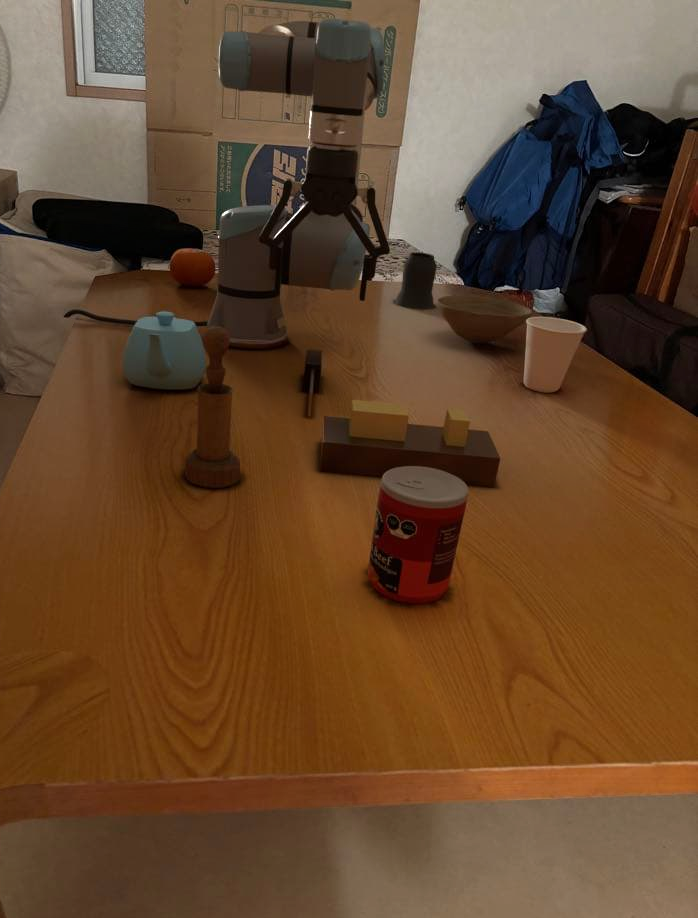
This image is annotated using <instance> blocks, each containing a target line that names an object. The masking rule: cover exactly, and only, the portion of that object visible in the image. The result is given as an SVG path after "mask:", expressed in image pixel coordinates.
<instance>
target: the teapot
mask: <svg viewBox="0 0 698 918" xmlns="http://www.w3.org/2000/svg"><path fill="white" fill-rule="evenodd" d="M136 321H137V322H136V324H135V325H133V328H132V330H131V332H130V335H129V337H128V340H127V342H126V345H125V350H124V355H123V363H122V370H123V373H124V375H125V378H127V381H128V382H129V383H130V384H132V385H135V386H138V387H142V388H148V389H149V388H150V389H155V390H156V389H157V390H173V391H174V390H175V391H180V390H191V389H195V388H196V387H198V386H199V384H200V382H201V380H202V379H203V377H204V375H205V374H206V366H207V359H206V350H205V348H204V346H203V342H202V336H201V333H200V332H199V329H198V326H196V325H195V323H194V322H193V321H192V320H190V319H185V318H179V317H175V313H173V312H171V311H166V310H165V311H159V312H156V313H155V316H144V317H141V318H139V319H138V320H136Z"/></svg>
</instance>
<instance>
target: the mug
mask: <svg viewBox="0 0 698 918" xmlns="http://www.w3.org/2000/svg"><path fill="white" fill-rule="evenodd" d="M408 254H409V255H408V257H407V258H406V260H405V261H404V263H403V270H402V280H401V288H400V291H399V292H398V294H397V296H396V299H395V304H396V305H398V306H401V307H404V308H409V309H416V310H429V309H433V308H434V305H435V304H434V296H433V289H434V283H435V278H436V273H437V266H438V265H437V264H436V263H437V262H436V261H435V255H433V254H431V253H428V252H427V253H426V252H417V251H416V252H415V251H413V252H410V253H408Z"/></svg>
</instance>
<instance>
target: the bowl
mask: <svg viewBox="0 0 698 918" xmlns="http://www.w3.org/2000/svg"><path fill="white" fill-rule="evenodd" d="M436 305H437V308H438V311H439V312H440V314H441V316H442V317H443V319H444V320H445V321H446V322H447V324H448V326H449V327H450V328H451V330H452V331H453V332H454V333H455V334H456V335H457V336H458V337H460V338H461V339H463V340H465V341H467V342H469V343H472V344H487V343H492V342H496V341H498V340H501V339H503V338H505V337H506V336H507V335H508V334H509V333H511V332H513V331H514V330H516V329H517V328H519V327H520V326H522V325H523V324H525V323H526V320H527V319H528V318H531V317H532V314H533V311H532V310H531V309H530V308H528V307H526V306H524V305H522V304H518V303H515V302H511V301H505V300H501V299H499V298H498V299H497V298H493V297H487V296H481V295H471V294H456V295H455V294H454V295H453V294H452V295H445V296H442V297H439V298H438V299H437V300H436Z"/></svg>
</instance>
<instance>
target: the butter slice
mask: <svg viewBox="0 0 698 918" xmlns="http://www.w3.org/2000/svg"><path fill="white" fill-rule="evenodd" d="M443 423H444V424H443V427H444V428H443V437H444V440H445V443H446V445H449V446H459V447H465V444H466V439H467V434H468V429H470V423H471V419H470V417H469V415H468V412H467V410H466V409H458V408H446V413H445V418H444V422H443Z"/></svg>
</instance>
